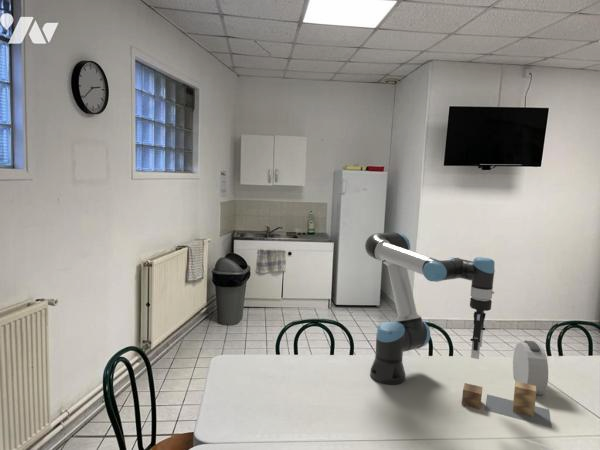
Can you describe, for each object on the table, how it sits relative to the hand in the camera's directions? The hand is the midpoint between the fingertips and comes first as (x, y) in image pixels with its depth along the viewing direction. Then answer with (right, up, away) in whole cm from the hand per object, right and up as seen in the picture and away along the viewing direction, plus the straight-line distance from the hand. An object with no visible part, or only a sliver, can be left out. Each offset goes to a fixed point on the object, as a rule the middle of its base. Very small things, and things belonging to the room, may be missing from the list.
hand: (476, 352), depth 164 cm
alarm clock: (+30, -21, +19) cm, 41 cm away
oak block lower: (+17, -22, -2) cm, 28 cm away
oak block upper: (+17, -17, -3) cm, 24 cm away
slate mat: (+15, -22, -1) cm, 27 cm away
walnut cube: (-1, -21, +2) cm, 21 cm away
